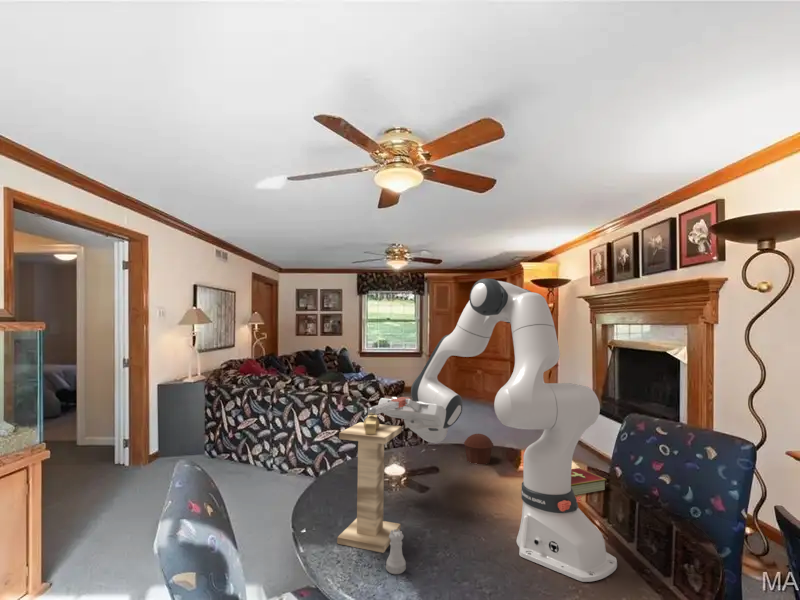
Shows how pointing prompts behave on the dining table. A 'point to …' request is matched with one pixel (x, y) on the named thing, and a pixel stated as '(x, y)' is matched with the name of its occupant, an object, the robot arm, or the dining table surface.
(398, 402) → the valve lever
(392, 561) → the rook chess piece
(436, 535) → the dining table surface
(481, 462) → the muffin
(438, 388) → the robot arm
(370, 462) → the stand
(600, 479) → the hardcover book
